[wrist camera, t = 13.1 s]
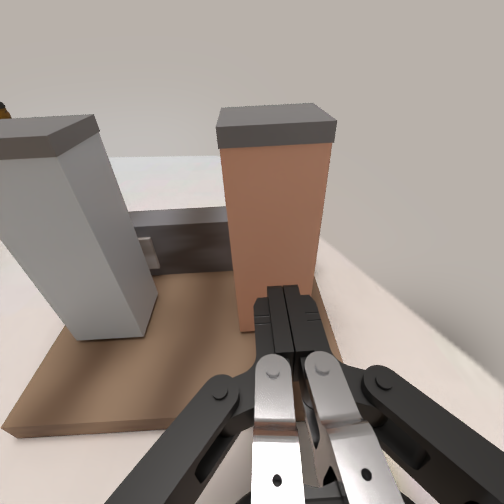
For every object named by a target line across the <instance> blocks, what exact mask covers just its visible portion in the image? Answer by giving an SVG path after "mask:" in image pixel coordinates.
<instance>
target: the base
mask: <svg viewBox="0 0 504 504" xmlns="http://www.w3.org/2000/svg"><path fill="white" fill-rule="evenodd" d="M128 213H129V216H130V218H131V221H132V224H133V226H134V229H135V232H136V235H137V237H138V240H139V243H140V245H141V248H142V251H143V254H144V256H145V259H146V262H147V264H148V267H149V270H150V273H151V275H152V278H153V281H154V284H155V286H156V289H157V292H158V295H157V298H156V301H155V304H154V307H153V310H152V313H151V316H150V319H149V322H148V325H147V328H146V331H145V334H144V337H129V338H112V339H95V340H78V341H77V340H76V339H75V338H74V336H73V335H72V334H71V332H70V331H69V330H68V328H67V327H66V326H64V328H63V329H62V331H61V333H60V334H59V336H58V337H57V339H56V341H55V342H54V344H53V345H52V347H51V349H50V350H49V352H48V353H47V355H46V357H45V358H44V360H43V361H42V363H41V364H40V366H39V368H38V369H37V371H36V372H35V374H34V376H33V377H32V379H31V380H30V382H29V384H28V385H27V387H26V388H25V390H24V392H23V393H22V395H21V396H20V398H19V400H18V401H17V403H16V404H15V406H14V408H13V409H12V411H11V412H10V414H9V416H8V417H7V419H6V420H5V422H4V424H3V425H2V427H1V429H3V430H5V431H6V432H8V433H9V434H11V435H13V436H14V437H16V438H30V437H46V436H63V435H79V434H96V433H112V432H128V431H145V430H161V429H167V428H168V427H169V426H170V425H171V423H172V422H173V421H174V420H175V419H176V417H177V416H178V415H179V414H180V413H181V411H182V410H183V409H184V408H185V407H186V405H187V404H188V403H189V402H190V401H191V400H192V398H193V397H194V396H195V395H196V394H197V392H198V391H199V390H200V389H201V388H202V386H203V385H204V384H205V383H206V382H207V381H208V380H209V379H210V378H211V377H213V376H215V375H219V374H225V375H229V376H231V377H232V378H233V377H235V376H238V375H240V374H242V373H244V372H246V371H248V370H249V369H250V368H251V367H252V365H253V364H254V362H255V359H256V343H255V331H246V332H240V326H239V317H238V308H237V299H236V290H235V281H234V273H233V264H232V255H231V246H230V237H229V228H228V219H227V210H226V206H223V207H205V208H187V209H168V210H150V211H132V212H128ZM311 297H312V298H313V300H314V301H315V302H316V304H317V307H318V311H319V314H320V317H321V321H322V324H323V327H324V330H325V333H326V336H327V340H328V343H329V346H330V349H331V352H332V353H333V355H334V356H335V357H336V358H337V359H338V360H339V361H340V362H342V363H343V361H342V358H341V355H340V352H339V349H338V346H337V343H336V340H335V337H334V334H333V331H332V328H331V325H330V322H329V319H328V316H327V313H326V310H325V307H324V304H323V301H322V298H321V295H320V292H319V289H318V286H317V283H316V280H315V277H314V279H313V286H312V293H311ZM292 388H293V399H294V410H295V421H305V417H304V413H303V409H302V405H301V401H300V393H301V391H300V386H299V381H296V382H293V379H292Z"/></svg>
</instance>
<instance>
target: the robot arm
mask: <svg viewBox="0 0 504 504" xmlns="http://www.w3.org/2000/svg"><path fill="white" fill-rule="evenodd" d="M253 309H254V326H255V343H256V359H255V362H254V364H253V365H252V367H251V368H250V369H249V370H248V371H246V372H244V373H242V374H240V375H238V376H235V377H233V378H232V377H231V376H229V375H225V374H219V375H215V376H213V377H211V378H210V379H209V380H208V381H207V382H206V383H205V384H204V385H203V386H202V388H201V389H200V390H199V391H198V392H197V394H196V395H195V396H194V397H193V398H192V400H191V401H190V402H189V403H188V404H187V405H186V407H185V408H184V409H183V410H182V411H181V413H180V414H179V415H178V416H177V417H176V419H175V420H174V421H173V422H172V423H171V425H170V426H169V427H168V428H167V429H166V431H165V432H164V433H163V434H162V435H161V436H160V438H159V439H158V440H157V441H156V442H155V444H154V445H153V446H152V447H151V448H150V450H149V451H148V452H147V453H146V454H145V456H144V457H143V458H142V459H141V460H140V461H139V463H138V464H137V465H136V466H135V467H134V469H133V470H132V471H131V472H130V473H129V475H128V476H127V477H126V478H125V479H124V481H123V482H122V483H121V484H120V485H119V487H118V488H117V489H116V490H115V491H114V492H113V494H112V495H111V496H110V497H109V498H108V500H107V501H106V502H105V503H104V504H195V502H196V501H197V499H198V498H199V496H200V495H201V493H202V492H203V490H204V488H205V487H206V485H207V484H208V482H209V481H210V479H211V478H212V476H213V474H214V473H215V471H216V470H217V468H218V467H219V465H220V464H221V462H222V461H223V459H224V457H225V456H226V454H227V453H228V451H229V450H230V448H231V447H232V445H233V443H234V442H235V440H236V439H237V437H238V436H239V434H240V433H241V431H243V430H245V429H247V428H249V427H252V426H254V429H253V460H252V491H251V492H249V493H248V494H246V495H245V496H243V497H242V498H241V499H240V500H239V501H238V502H237V503H236V504H415V503H414V502H413V501H412V500H410V499H409V498H408V497H407V496H406V495H404V494H403V493H401V492H400V491H399V489H398V487H397V484H396V482H395V480H394V477H393V475H392V473H391V470H390V468H389V466H388V463H387V461H386V459H385V456H384V454H383V451H382V450H384V451H385V452H386V453H387V454H388V455H389V456H390V457H391V458H392V459H393V460H394V461H395V462H396V463H397V464H398V465H399V466H400V467H402V468H403V469H404V470H405V471H406V472H407V473H408V474H409V475H410V476H411V477H412V478H413V479H414V480H415V481H416V482H417V483H418V484H419V485H421V486H422V487H423V488H424V489H425V490H426V491H427V492H428V493H429V494H430V495H431V496H432V497H433V498H434V499H435V500H436V501H437V502H439V503H440V504H504V452H503V451H501V450H500V449H499V448H497V447H496V446H495V445H493V444H492V443H491V442H489V441H488V440H486V439H485V438H484V437H482V436H481V435H480V434H478V433H477V432H476V431H474V430H473V429H471V428H470V427H469V426H467V425H466V424H465V423H463V422H462V421H461V420H459V419H458V418H456V417H455V416H454V415H452V414H451V413H450V412H448V411H447V410H446V409H444V408H443V407H441V406H440V405H439V404H437V403H436V402H435V401H433V400H432V399H431V398H429V397H428V396H426V395H425V394H424V393H422V392H421V391H420V390H418V389H417V388H416V387H414V386H413V385H412V384H410V383H409V382H407V381H406V380H405V379H403V378H402V377H401V376H399V375H398V374H397V373H395V372H394V371H392V370H391V369H389V368H387V367H385V366H381V365H373V366H370V367H368V368H367V369H366V370H363V369H359V368H355V367H351V366H348V365H346V364H343V363H342V362H340V361H339V360H338V359H337V358H336V357H335V356H334V355H333V353H332V352H331V349H330V346H329V343H328V340H327V336H326V333H325V330H324V327H323V324H322V321H321V317H320V314H319V311H318V307H317V304H316V302H315V301H314V300H313V298H312V297H311V296H310V295H300V291H299V287H298V285H297V284H296V285H282V286H267V297H262V298H257V299H256V301H255V304H254V306H253ZM292 379H293V382H296V381H299V386H300V391H301V393H300V401H301V405H302V409H303V413H304V417H305V421H306V425H307V429H308V433H309V437H310V441H311V445H312V450H313V456H314V466H315V471H316V476H317V480H318V484H319V488H316V487H312V486H309V485H305V484H303V479H302V469H301V458H300V447H299V437H298V430H297V427H296V421H295V410H294V399H293V388H292ZM361 474H362V475H361Z"/></svg>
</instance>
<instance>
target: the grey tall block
mask: <svg viewBox="0 0 504 504" xmlns="http://www.w3.org/2000/svg"><path fill="white" fill-rule="evenodd" d="M99 131H100V130H99V127H98V125H97V122H96V119H95V116H94V114H89V115H70V116H52V117H32V118H13V119H0V239H1V241H2V242H3V243H4V245H5V246H6V247H7V249H8V250H9V251H10V253H11V254H12V255H13V257H14V258H15V259H16V261H17V262H18V263H19V265H20V266H21V267H22V269H23V270H24V271H25V273H26V274H27V275H28V277H29V278H30V279H31V281H32V282H33V283H34V284H35V286H36V287H37V288H38V290H39V291H40V292H41V294H42V295H43V296H44V298H45V299H46V300H47V302H48V303H49V304H50V306H51V307H52V308H53V310H54V311H55V312H56V314H57V315H58V316H59V318H60V319H61V320H62V322H63V323H64V324H65V326H66V327H67V328H68V330H69V331H70V332H71V334H72V335H73V336H74V338H75V339H76V340H77V341H78V340H95V339H112V338H129V337H144V334H145V331H146V328H147V325H148V322H149V319H150V316H151V313H152V310H153V307H154V304H155V301H156V298H157V295H158V292H157V289H156V286H155V284H154V281H153V278H152V275H151V273H150V270H149V267H148V264H147V262H146V259H145V256H144V254H143V251H142V248H141V245H140V243H139V240H138V237H137V235H136V232H135V229H134V226H133V224H132V221H131V218H130V216H129V213H128V210H127V207H126V205H125V202H124V199H123V197H122V194H121V191H120V188H119V186H118V183H117V180H116V178H115V175H114V172H113V169H112V167H111V164H110V161H109V159H108V156H107V153H106V151H105V148H104V145H103V142H102V140H101V137H100V134H99Z"/></svg>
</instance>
